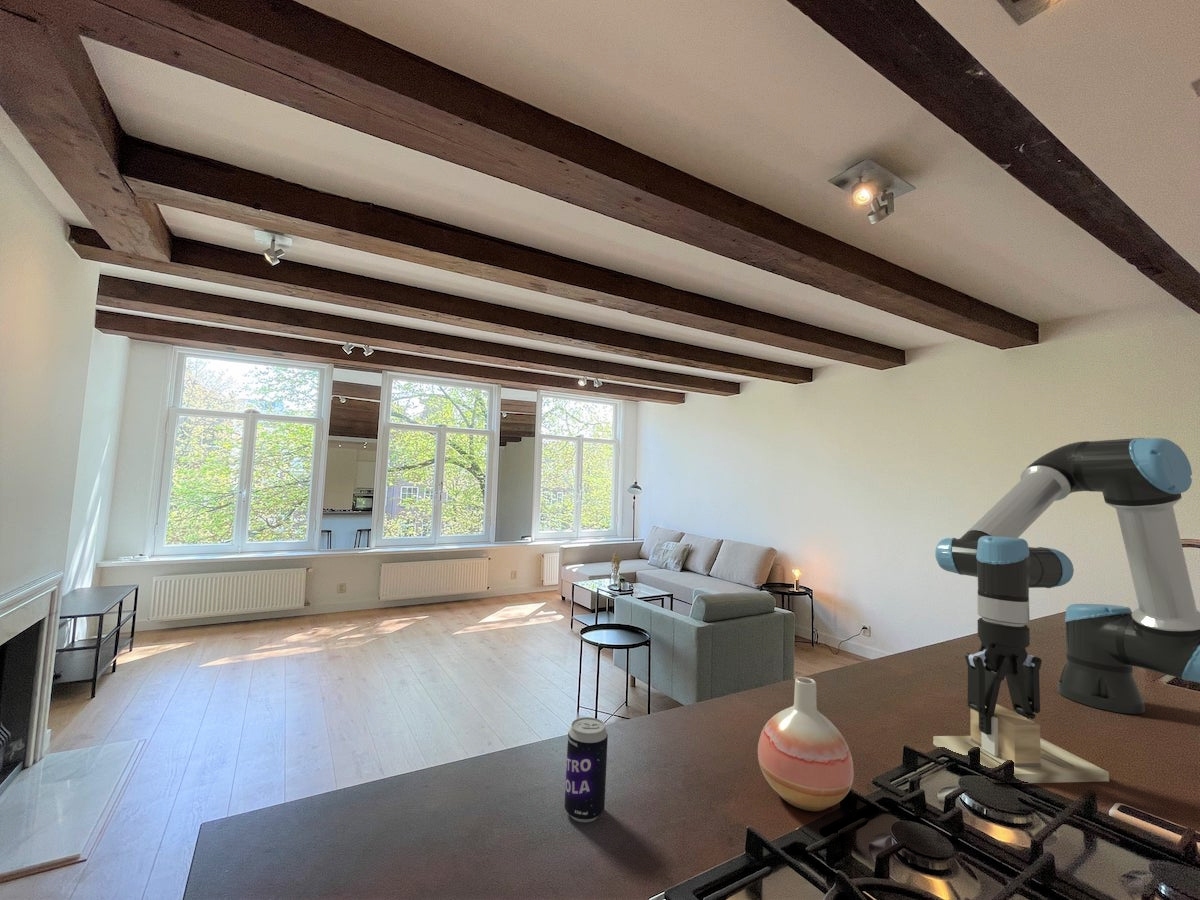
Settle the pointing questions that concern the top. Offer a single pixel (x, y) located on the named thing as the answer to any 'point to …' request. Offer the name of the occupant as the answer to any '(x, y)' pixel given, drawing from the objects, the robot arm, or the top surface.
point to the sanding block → (1012, 737)
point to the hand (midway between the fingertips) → (1004, 751)
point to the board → (1053, 767)
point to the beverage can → (586, 769)
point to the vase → (805, 754)
